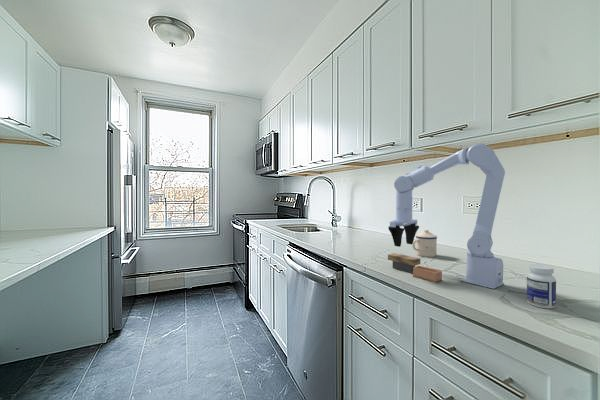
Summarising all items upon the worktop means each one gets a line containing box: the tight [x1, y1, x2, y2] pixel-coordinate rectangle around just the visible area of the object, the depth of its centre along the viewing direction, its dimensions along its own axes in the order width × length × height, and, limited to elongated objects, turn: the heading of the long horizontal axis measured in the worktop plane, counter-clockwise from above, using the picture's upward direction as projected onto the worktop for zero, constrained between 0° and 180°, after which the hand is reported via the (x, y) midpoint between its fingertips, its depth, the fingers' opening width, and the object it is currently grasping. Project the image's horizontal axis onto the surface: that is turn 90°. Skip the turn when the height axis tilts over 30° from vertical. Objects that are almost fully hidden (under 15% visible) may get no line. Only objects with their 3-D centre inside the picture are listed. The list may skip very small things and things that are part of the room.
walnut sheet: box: [387, 253, 421, 267], centre depth 104 cm, size 11×4×2 cm, turn 36°
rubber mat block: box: [392, 261, 416, 274], centre depth 104 cm, size 8×2×3 cm, turn 36°
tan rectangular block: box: [412, 265, 443, 284], centre depth 93 cm, size 8×4×3 cm, turn 36°
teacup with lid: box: [411, 229, 438, 258], centre depth 128 cm, size 12×9×12 cm
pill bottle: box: [526, 264, 557, 310], centre depth 71 cm, size 6×6×10 cm
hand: (403, 245), depth 104 cm, fingers open, 7 cm apart
